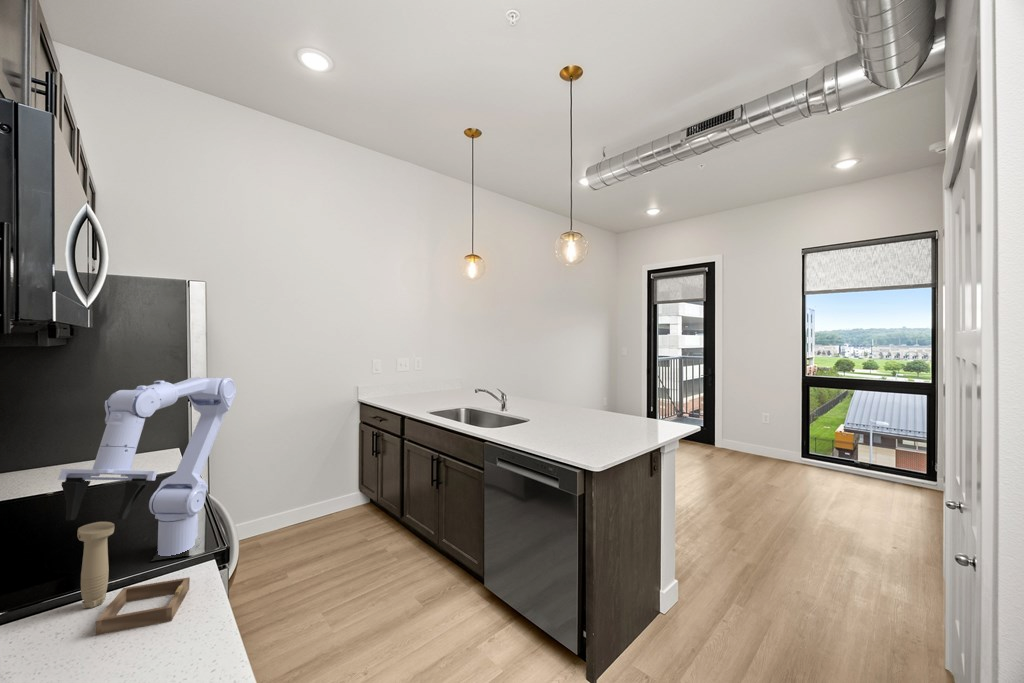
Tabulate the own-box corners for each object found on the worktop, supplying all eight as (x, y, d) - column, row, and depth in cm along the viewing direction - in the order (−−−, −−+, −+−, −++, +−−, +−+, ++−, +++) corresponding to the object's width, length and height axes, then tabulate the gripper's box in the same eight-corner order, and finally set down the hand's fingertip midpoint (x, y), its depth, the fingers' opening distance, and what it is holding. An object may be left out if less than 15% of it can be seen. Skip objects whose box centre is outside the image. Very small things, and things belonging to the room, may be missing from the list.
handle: (84, 616, 79) (87, 536, 79) (69, 606, 82) (72, 528, 82) (117, 602, 83) (120, 526, 83) (102, 593, 86) (104, 519, 86)
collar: (122, 600, 84) (123, 585, 84) (189, 589, 88) (189, 574, 88) (95, 635, 74) (95, 617, 74) (171, 620, 78) (172, 604, 78)
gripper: (61, 444, 80) (34, 521, 76) (156, 447, 86) (136, 520, 81) (79, 447, 86) (55, 519, 82) (166, 450, 92) (148, 517, 87)
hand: (96, 519), depth 82 cm, fingers open, 7 cm apart
